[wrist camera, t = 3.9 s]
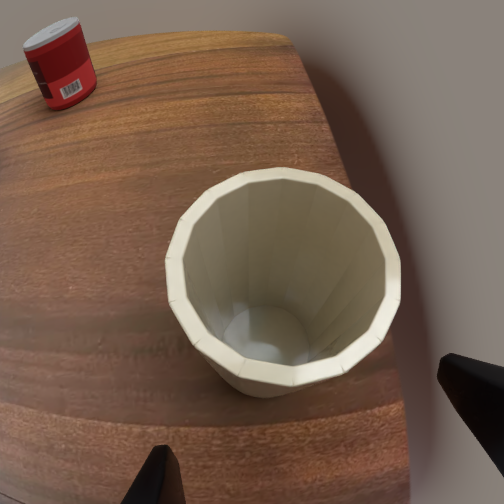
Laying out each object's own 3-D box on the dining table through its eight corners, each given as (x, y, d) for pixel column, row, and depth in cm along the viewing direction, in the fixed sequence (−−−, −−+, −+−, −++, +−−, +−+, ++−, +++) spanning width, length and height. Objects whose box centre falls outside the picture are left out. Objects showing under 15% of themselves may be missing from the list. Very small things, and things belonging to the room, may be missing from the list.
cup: (331, 334, 20) (427, 233, 9) (279, 416, 18) (331, 433, 6) (251, 285, 22) (254, 140, 10) (195, 361, 19) (118, 287, 8)
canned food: (108, 76, 36) (89, 12, 26) (77, 110, 32) (49, 40, 22) (69, 80, 36) (49, 23, 27) (39, 113, 33) (11, 52, 23)
